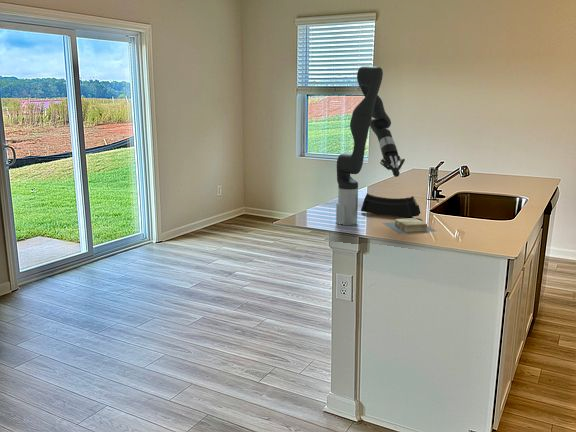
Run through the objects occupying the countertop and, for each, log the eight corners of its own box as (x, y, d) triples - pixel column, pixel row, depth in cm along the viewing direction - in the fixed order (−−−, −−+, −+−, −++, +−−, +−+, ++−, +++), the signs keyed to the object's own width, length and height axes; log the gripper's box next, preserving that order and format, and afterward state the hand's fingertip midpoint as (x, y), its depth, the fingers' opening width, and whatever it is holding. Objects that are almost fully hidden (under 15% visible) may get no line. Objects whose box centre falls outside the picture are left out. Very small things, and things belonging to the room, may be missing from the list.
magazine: (356, 195, 265) (411, 183, 249) (359, 194, 268) (413, 182, 252) (364, 227, 267) (419, 217, 250) (367, 226, 269) (421, 216, 253)
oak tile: (414, 224, 241) (426, 230, 229) (395, 225, 239) (406, 231, 227) (415, 218, 240) (427, 224, 229) (395, 219, 238) (406, 225, 227)
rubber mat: (436, 231, 229) (437, 231, 229) (399, 234, 225) (399, 233, 225) (416, 221, 248) (416, 220, 248) (381, 223, 244) (381, 222, 244)
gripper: (378, 143, 251) (386, 171, 242) (403, 142, 254) (412, 170, 245) (373, 153, 257) (381, 180, 248) (398, 152, 260) (407, 180, 251)
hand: (397, 175), depth 246 cm, fingers closed
